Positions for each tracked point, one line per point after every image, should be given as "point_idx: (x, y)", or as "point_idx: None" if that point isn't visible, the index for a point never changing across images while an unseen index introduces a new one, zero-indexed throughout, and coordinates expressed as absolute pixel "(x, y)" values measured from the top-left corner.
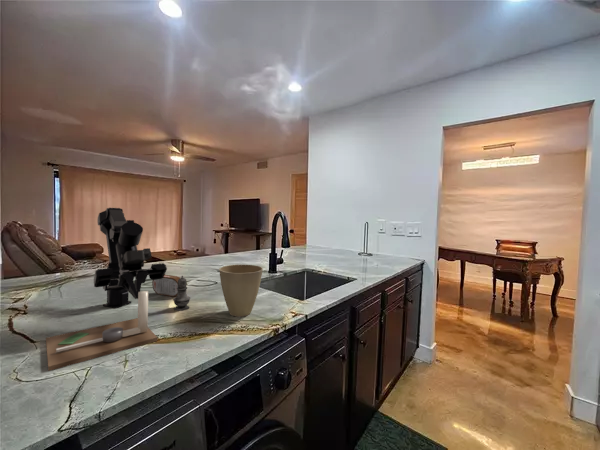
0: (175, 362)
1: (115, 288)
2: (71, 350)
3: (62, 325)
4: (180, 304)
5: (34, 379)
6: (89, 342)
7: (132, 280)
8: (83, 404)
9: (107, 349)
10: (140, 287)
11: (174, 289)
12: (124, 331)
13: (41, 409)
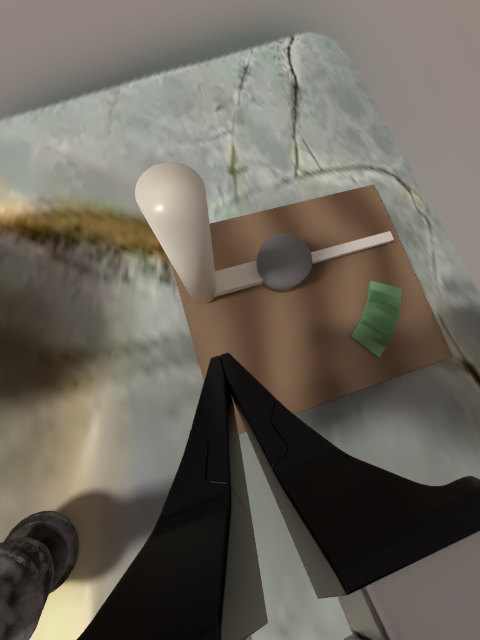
0: (135, 121)
1: None
2: None
3: None
4: (26, 540)
5: (377, 172)
6: (330, 247)
7: (284, 476)
8: (278, 71)
9: (279, 213)
10: (197, 412)
11: None
12: (253, 273)
13: (330, 85)
